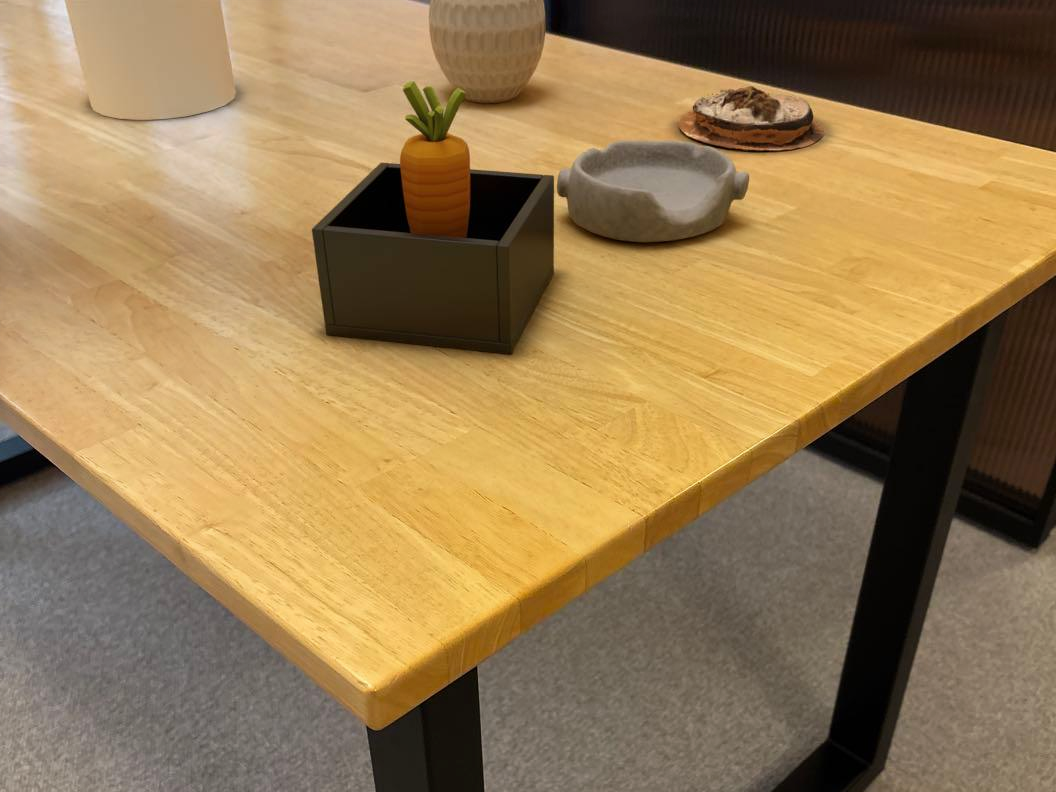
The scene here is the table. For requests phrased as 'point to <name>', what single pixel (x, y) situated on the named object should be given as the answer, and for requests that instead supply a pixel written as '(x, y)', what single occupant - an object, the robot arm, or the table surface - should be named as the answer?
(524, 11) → the vase
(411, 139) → the carrot
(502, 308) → the black open box
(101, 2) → the canister
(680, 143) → the dish
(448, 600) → the table surface
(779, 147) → the cake
